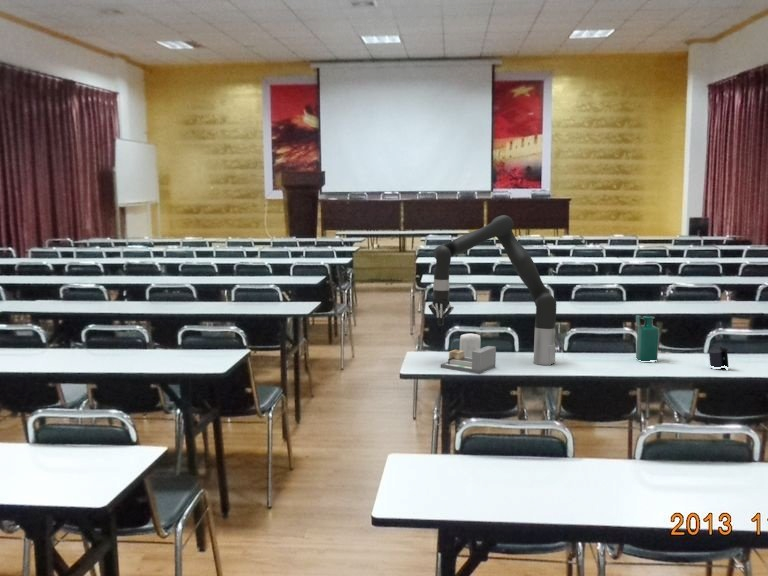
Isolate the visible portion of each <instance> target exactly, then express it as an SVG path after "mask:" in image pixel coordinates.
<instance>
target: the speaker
mask: <svg viewBox="0 0 768 576" xmlns="http://www.w3.org/2000/svg"><path fill="white" fill-rule="evenodd" d="M708 355H709V356H708V357H709V365H711V366H714V367H721V366H724V365H725V366H727V367H729V356H728V355H729V354H728V348H726V347H722V346H719V349H711V350H709V351H708Z"/></svg>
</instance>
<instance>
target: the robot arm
mask: <svg viewBox="0 0 768 576" xmlns="http://www.w3.org/2000/svg"><path fill="white" fill-rule="evenodd" d="M514 225H515V224H514V220H513V219H512V218H511V217H510V216H508V215H506V214H503V215H499V216H496V217H495V218H493V219H492V220H491V222H490V223H488V224H487V225H485V226H483V227H481V228H479V229H476V230H473V231H471V232H468V233H466V234H463V235H462V236H460V237H459V236H458V237H457V238H455V239H453V240H451V241H449V242H446V243H442V244H441V245H438V246H436V247H435V248H434V250H433V257H434V259H435V268H434V270H433V271H434V272H433V283H432V284H433V285H432V286H433V287H432V288H433V290H432V293H433V294H432V303H431V304H428V308H429V311H430V312H431V313H432V315H433V316H434V317H436V318H437V320H436V321H437V322H436V323H437V325H438V326H439V327H442V326H444V324H445V318H447V317H448V316H449V315H450V314H451V313H452V311H453V310H454V306H452V305H451V304H450V267H451V262H452V256H455V255H459V254H462V253H464V252H466V251H469V250H471V249H473V248H475V247H477V246H478V245H480V244H482V243H484V242H486V241H488V240H491V239H494V238H496V239H497V240H498V242H499V243H500V244H501V246H502V247H503V249H504V251H505V253H506V255H507V257H508V259H509V262H510V263H511V265H512V267H513V268H514V271H515V272H516V273H517V275H518V277H519V278H520V280H521V281H522V283H523V284H524V285H525V286H526V288H527V289H528V291H529V293H530V295H531V296H532V297H531V298H532V299H533V302H534V305H535V307H536V308H535V321H534V340H533V341H534V342H533V344H534V345H533V363H534V364H536V365H541V366H552V365H554V364H555V363H556V345H557V343H555V336H556V335H555V329H556V323H557V322H556V321H557V302H556V299H555V298H554V296H553V295H552V294H551V292H550V291H549V290H548V289H547V287H546V286H545V284H544V283H543V281H542V278H541V275H540V273H539V270H538V268H537V266H536V264H535V262H534V260H533V258H532V257H531V255H530V253H529V252H528V251H527V249H525V247H524V246H523V245H522V244H521V243H520V242H519V241H518V239H517V238H516V236H515V234H514V232H513V229H514ZM554 362H555V363H554ZM553 363H554V364H553ZM551 364H552V365H551Z"/></svg>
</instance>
